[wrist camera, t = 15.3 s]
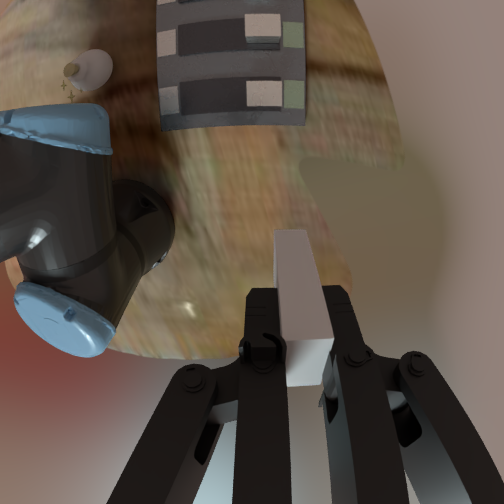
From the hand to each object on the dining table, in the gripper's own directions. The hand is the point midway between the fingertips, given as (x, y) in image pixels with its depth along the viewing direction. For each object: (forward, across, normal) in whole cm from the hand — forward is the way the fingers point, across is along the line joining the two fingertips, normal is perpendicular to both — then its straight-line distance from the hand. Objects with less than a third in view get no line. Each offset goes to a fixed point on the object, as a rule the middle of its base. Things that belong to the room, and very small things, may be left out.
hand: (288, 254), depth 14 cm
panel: (+24, -5, +16) cm, 29 cm away
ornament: (+25, -23, +14) cm, 36 cm away
